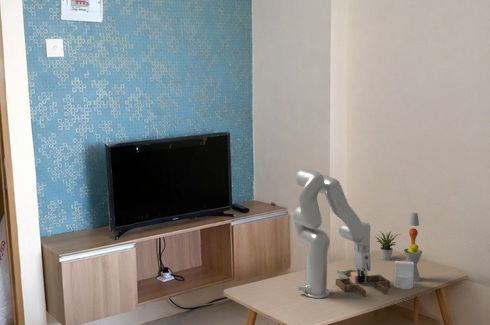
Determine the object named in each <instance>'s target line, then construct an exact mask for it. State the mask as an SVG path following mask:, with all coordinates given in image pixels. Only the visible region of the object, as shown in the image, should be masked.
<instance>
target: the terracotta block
mask: <svg viewBox="0 0 490 325" xmlns="http://www.w3.org/2000/svg"><path fill="white" fill-rule="evenodd" d="M358 275H359V274H357V272H351V276H350V281H352V283H353V284H359V283H358ZM365 283H367V281H366V275H365ZM365 283H364V284H365Z"/></svg>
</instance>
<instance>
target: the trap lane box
mask: <svg viewBox="0 0 490 325" xmlns="http://www.w3.org/2000/svg"><path fill="white" fill-rule="evenodd" d="M351 272H357V269H356V268H354V269H353V268H351V269H343V270H337V278H336V279H335V286H337V287H338V288H339V289H341V291H343V292H344V293H351V292H356V293H358V294H359V295H360V296H362V297H363V298H365V297H367V290H366V289H364V288H363V287H362V286H361V285H359V283H357V284H355V283H353V284H351ZM366 283H369V284H370V285H371V286H372V287H374V288H375V289H376V290H378V291H379V292H381V293H382V294H383V295H388V288H390V287H391V281H390V280H389V279H387V278H386V277H384V276H383V275H381V274H380V273H379V274H372V275H370V274H368V273H367V274H366Z"/></svg>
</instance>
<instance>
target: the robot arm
mask: <svg viewBox="0 0 490 325" xmlns="http://www.w3.org/2000/svg"><path fill="white" fill-rule="evenodd" d="M295 181H296V183H297V185H299V186H300V187H303V188H302V189H301V191H300V193H299V196H298V204H299V206H297V207H296V208H295V209H294V211H293V216H292V217H293V218H292V219H293V223H294V228H295V230H296V234H297V238H298V240H299V242H301V243H302V244H303V245H305V246H307V247H309V250H308V252H307V257H306V282H305V283H304V285H303V286H297V287H296V290H297V291H301V292H302V293H303V294H304V296H306V297H309V298H313V299H323V298H326V297H329V296H330V294H331V291H330V290H329V289H328V286H327V284H328V283H327V280H328V251H329V246H330V237H329V235H328V233H326V232H325V231H324V230H322V229H320V227H322V226H321V225H322V223H323V222H322V219H323V218H322V215H321V211H320V207H319V203H318V202H319V201H318V196H319V193H321V194H324V195H325V198H326V200H327V201H328V205H329V207H330V209H331V212H332V213H333V214H334V215H335V216H336V217H337V218H339V219H340V220H341V221H342V222H343V224H342V223H341V225H340V226H339V228H338V234H339V236H341V237H342V238H344V239H346V240H348V241H351V242H353V243H354V244H353V245H354V254H353V265H354V267H355V269H357V274H359V275H358V283H357V284H365V275H366V274H367V275H368V271H369V272H370V271H371V269H372V267H371V266H372V264H371V263H372V261H371V225H370V223H369V222H365V221H361V219H360V217H359V216H358V215H357V213H356V212H355V211H354V210H353V208H352V207H351V206H350V204H349V202H348V199H347V197H346V195H345V192H344V189H343V187H342V185H341V183H340V181H339V180H338V179H336V178H333V177H330V176H327V175H323V174H322V173H320V172H319V171H318V172H317V171H314V170H312V169H306V168H303V169H300V170H299V171H298V172H297V173H296V175H295Z"/></svg>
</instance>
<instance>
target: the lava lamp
mask: <svg viewBox="0 0 490 325" xmlns="http://www.w3.org/2000/svg"><path fill="white" fill-rule="evenodd" d="M419 222H420V221H419V214H418V212H411V214H410V218H409V222H408V223H409V224H408V225H409V226H413V228H410V229H409V230H408V234H409V237H410V244H409V247H408V248H404V249H403V252H404V253H403V254H404V255H405V256H404V257H405V259H406V262H413V263H414V270H413V283H418V282H420V281H421V276H420V273H419V270H418V263H419V261H420V258H421V256H422V253H423V251H422V250H421V249H419V246H418V244H416V239H417V237H418V235H419V234H418V232H419V231H418V229H416V228H414V227H419V226H420V223H419Z"/></svg>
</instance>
